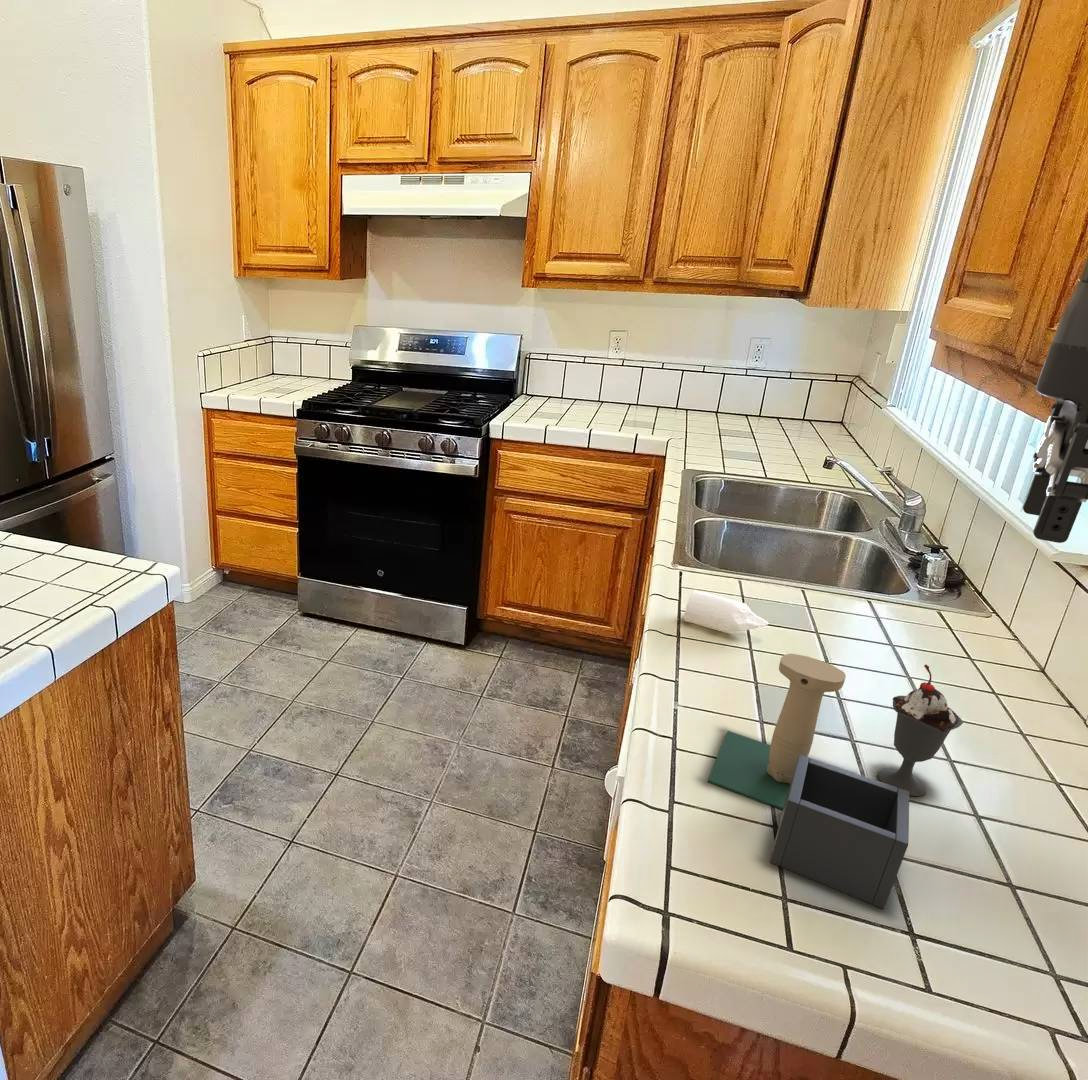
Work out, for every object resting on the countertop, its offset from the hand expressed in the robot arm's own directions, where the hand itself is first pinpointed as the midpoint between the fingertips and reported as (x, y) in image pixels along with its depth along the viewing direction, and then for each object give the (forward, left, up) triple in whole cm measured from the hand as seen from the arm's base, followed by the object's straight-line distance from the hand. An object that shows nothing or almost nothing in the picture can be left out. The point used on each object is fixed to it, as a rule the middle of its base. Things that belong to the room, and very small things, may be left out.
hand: (1041, 526), depth 68 cm
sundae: (+2, -10, -36) cm, 38 cm away
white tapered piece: (+27, -38, -36) cm, 59 cm away
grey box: (+8, +9, -36) cm, 38 cm away
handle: (+14, -2, -36) cm, 39 cm away
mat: (+14, -2, -36) cm, 39 cm away
